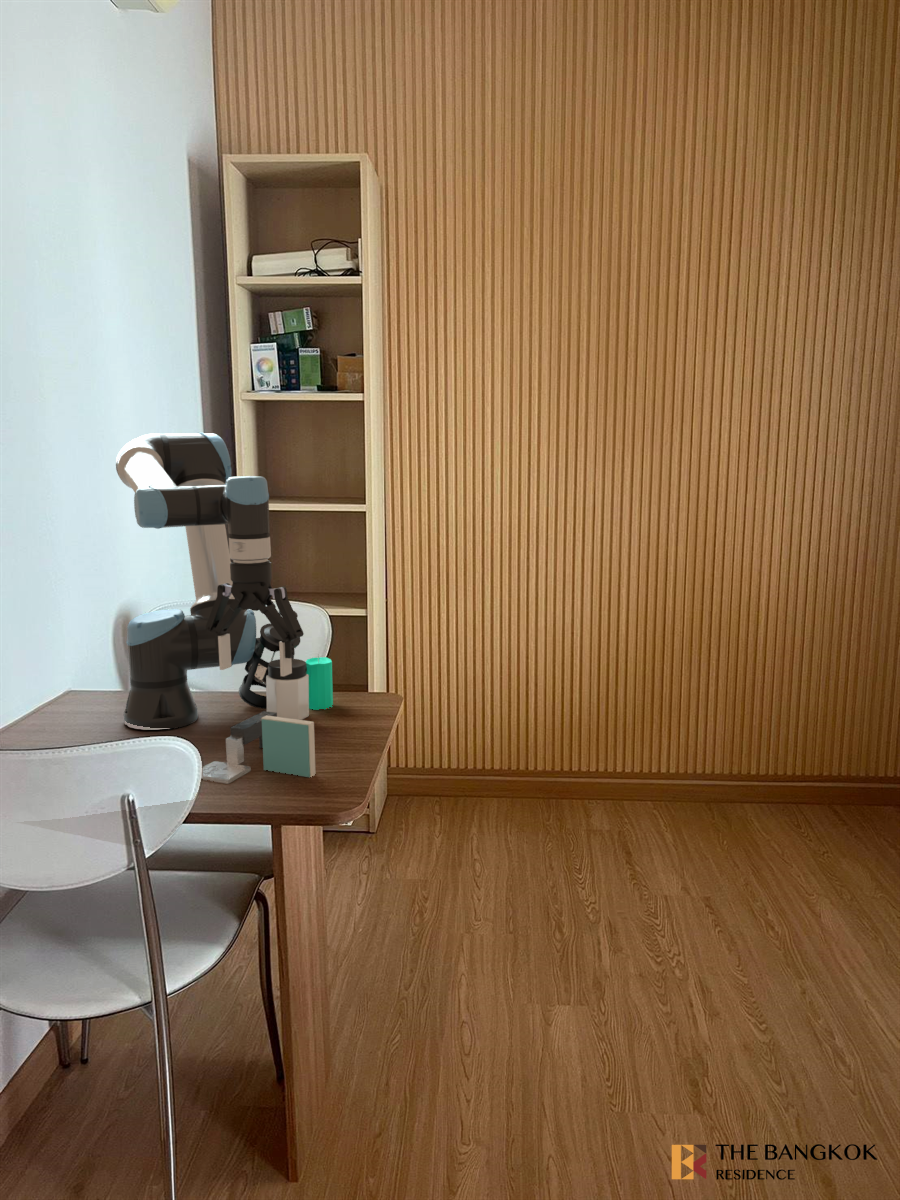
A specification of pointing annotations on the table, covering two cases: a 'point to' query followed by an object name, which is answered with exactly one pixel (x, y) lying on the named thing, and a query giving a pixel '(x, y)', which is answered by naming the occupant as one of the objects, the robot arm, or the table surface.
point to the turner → (236, 750)
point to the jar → (288, 690)
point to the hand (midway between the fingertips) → (255, 671)
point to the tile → (288, 746)
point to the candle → (320, 682)
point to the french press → (261, 665)
